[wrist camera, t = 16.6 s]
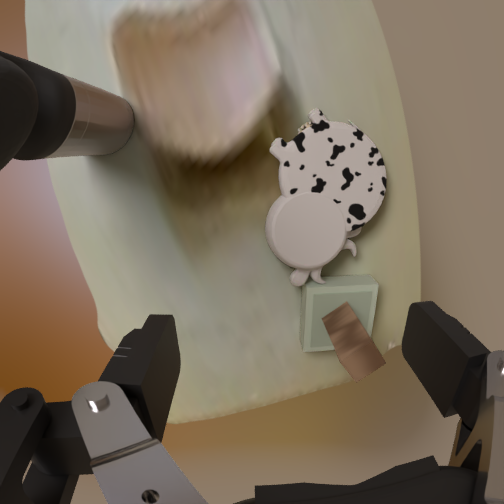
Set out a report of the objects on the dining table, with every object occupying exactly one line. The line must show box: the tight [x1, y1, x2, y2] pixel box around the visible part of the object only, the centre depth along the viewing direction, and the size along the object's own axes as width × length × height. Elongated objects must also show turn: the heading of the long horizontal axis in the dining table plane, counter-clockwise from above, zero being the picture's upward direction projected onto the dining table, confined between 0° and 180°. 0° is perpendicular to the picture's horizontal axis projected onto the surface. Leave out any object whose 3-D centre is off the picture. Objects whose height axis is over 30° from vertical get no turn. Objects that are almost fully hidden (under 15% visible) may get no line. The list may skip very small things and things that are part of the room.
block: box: [321, 301, 386, 382], centre depth 41 cm, size 4×4×11 cm
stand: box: [300, 274, 379, 352], centre depth 48 cm, size 11×11×4 cm
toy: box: [265, 108, 387, 286], centre depth 43 cm, size 22×5×20 cm
